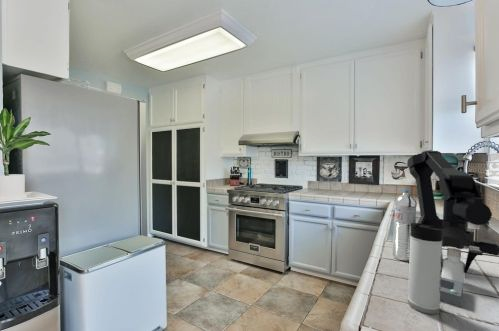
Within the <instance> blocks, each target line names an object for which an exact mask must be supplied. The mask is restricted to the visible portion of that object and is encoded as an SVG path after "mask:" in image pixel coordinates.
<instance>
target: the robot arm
mask: <svg viewBox="0 0 499 331" xmlns="http://www.w3.org/2000/svg"><path fill="white" fill-rule="evenodd" d="M406 164H407V168H408V170H409V174H410V175H411V176H412V178H414V179H415V182H416V190H417V198H418V205H419V213H420V217H419V219H418V221H417V222H416V223H418V224H424V225H429V226H433V227H434V228H437V229H442V248H443V247H447V248H456V249H459V250H463V249H464V248H465V247H468V252H467V255H466V258H465V263H464V264H465V274H467V273H468V271H469V269H470V266H471V265H472V263H473V261H474V260H475V258H476V257H478V256H483V255H484V254H486V255H492V256H499V242H498V241H497V240H492V239H487V238H486V239H485V238H479V240H475V239H474V238H475V232H474V231H469V230H468V229H469V226H468V225H469V223H470V224H473V225H476V226H483V225H485V224H487V223H488V222H490V221H491V219H492V216H493V214H492V213H493V212H492V210H491V208H490V207H489V206H488V205H486V203H484V199H483V197H482V192H481V190H480V189H479V187H478V186H477V183H476V181H475V179H474V177H473V176H472V175H471V174H469V173H467V172H465V171H463V170H459V169H456V168H455V167H453V165H452V164H451V163H450V162H449V161H448V160H447V159H446V158H445V157H444V156H443V155H442V152H441V151H439V150H425V151H424V150H423V151H422V152H421V153H417V154H414V155H412V156H410V157H409V158H408V160H407V162H406ZM433 174H435V175H436V176H437V177H438V183H437V184H438V187H439V188H440V190H441V192H442V193H443V195H442V196H441V199H442V200H443V209H442V210H443V211H442V212H443V214H442V219H441V218H440V217H439V216H438V214H437V208H436V202H435V197H434V196H435V195H434V190H433V182H432V176H433ZM443 259H444V256H443V253H442V259H441V268H442V265H443Z"/></svg>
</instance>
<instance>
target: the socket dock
mask: <svg viewBox="0 0 499 331" xmlns="http://www.w3.org/2000/svg"><path fill="white" fill-rule="evenodd" d="M463 292H464V283H462V282H458V281H454V280H451V279H447V278H443V277H442V276H441V284H440V302H445V303H447V304H450V305H453V306H457V307H459V308H461V306H462V298H463V294H464V293H463Z"/></svg>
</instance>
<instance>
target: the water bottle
mask: <svg viewBox="0 0 499 331" xmlns="http://www.w3.org/2000/svg"><path fill="white" fill-rule="evenodd" d="M409 192H410V190H409V189H402V194H400V195H398V196H397V197H396V198H395V200H394V220H393V235H392V236H393V237H392V238H393V241H392V256H393V258H394V259H396V260H399V261H402V262H409V258H410V238H411V237H410V235H411V226H410V224H411V223H417V222H416V220H417V216H416V215H417V204H418V202H417V201H416V199H415V198H414V197H413V196H412V195H411V194H409Z"/></svg>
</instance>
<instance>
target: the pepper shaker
mask: <svg viewBox="0 0 499 331" xmlns="http://www.w3.org/2000/svg"><path fill="white" fill-rule="evenodd" d="M446 249H447V251H446V252H447V253H446V255H447V256H446V257H444V258H443V265H442V267H441V277H443V278H447V279H451V280H454V281H458V282H462V283H463V284H464V283H465V276H466V273H465V264H466V263H465V261H462V260H461V258H462V249H457V248H455V247H447V248H446Z"/></svg>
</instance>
